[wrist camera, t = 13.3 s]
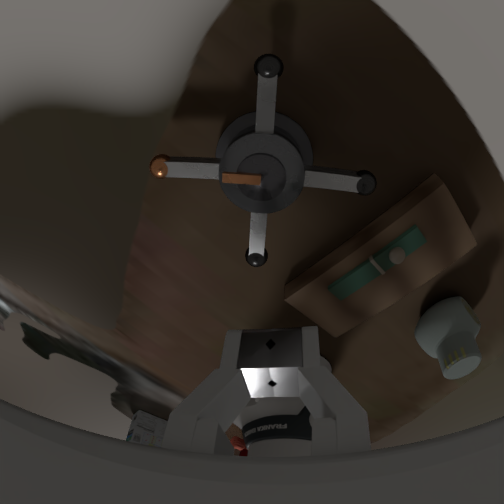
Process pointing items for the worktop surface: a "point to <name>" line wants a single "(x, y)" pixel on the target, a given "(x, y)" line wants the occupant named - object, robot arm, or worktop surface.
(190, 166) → the capstan
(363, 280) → the level stand
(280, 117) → the pedestal
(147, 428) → the light bulb box
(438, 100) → the worktop surface
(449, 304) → the air freshener
